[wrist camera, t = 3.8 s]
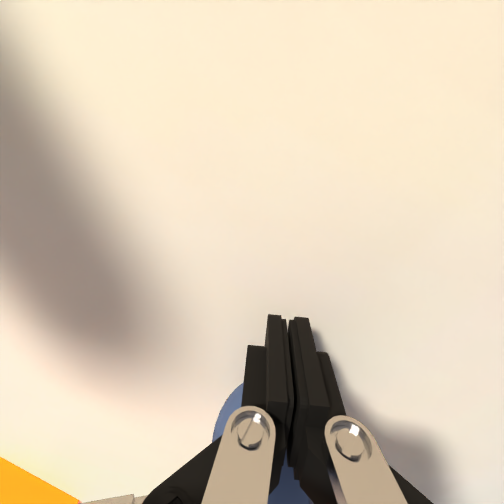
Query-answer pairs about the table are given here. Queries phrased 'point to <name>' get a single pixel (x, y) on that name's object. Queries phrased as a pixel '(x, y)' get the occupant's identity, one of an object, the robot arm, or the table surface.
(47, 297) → the table surface
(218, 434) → the ball
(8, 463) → the orange juice
